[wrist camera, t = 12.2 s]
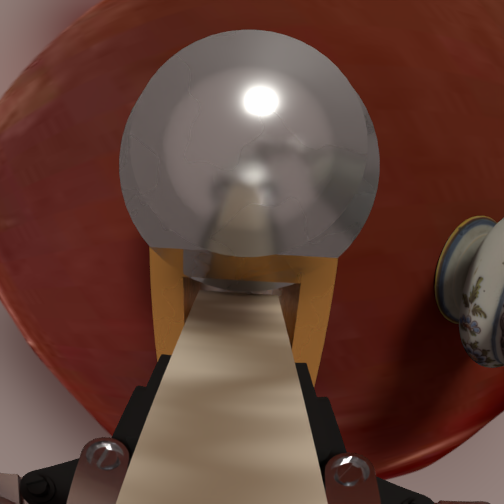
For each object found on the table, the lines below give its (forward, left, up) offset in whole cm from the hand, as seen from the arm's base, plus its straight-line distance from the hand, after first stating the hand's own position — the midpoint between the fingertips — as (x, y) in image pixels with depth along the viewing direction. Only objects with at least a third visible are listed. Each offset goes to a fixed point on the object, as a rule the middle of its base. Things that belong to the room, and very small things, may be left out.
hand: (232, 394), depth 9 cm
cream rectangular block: (0, 0, -4) cm, 4 cm away
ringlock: (0, -1, -11) cm, 11 cm away
